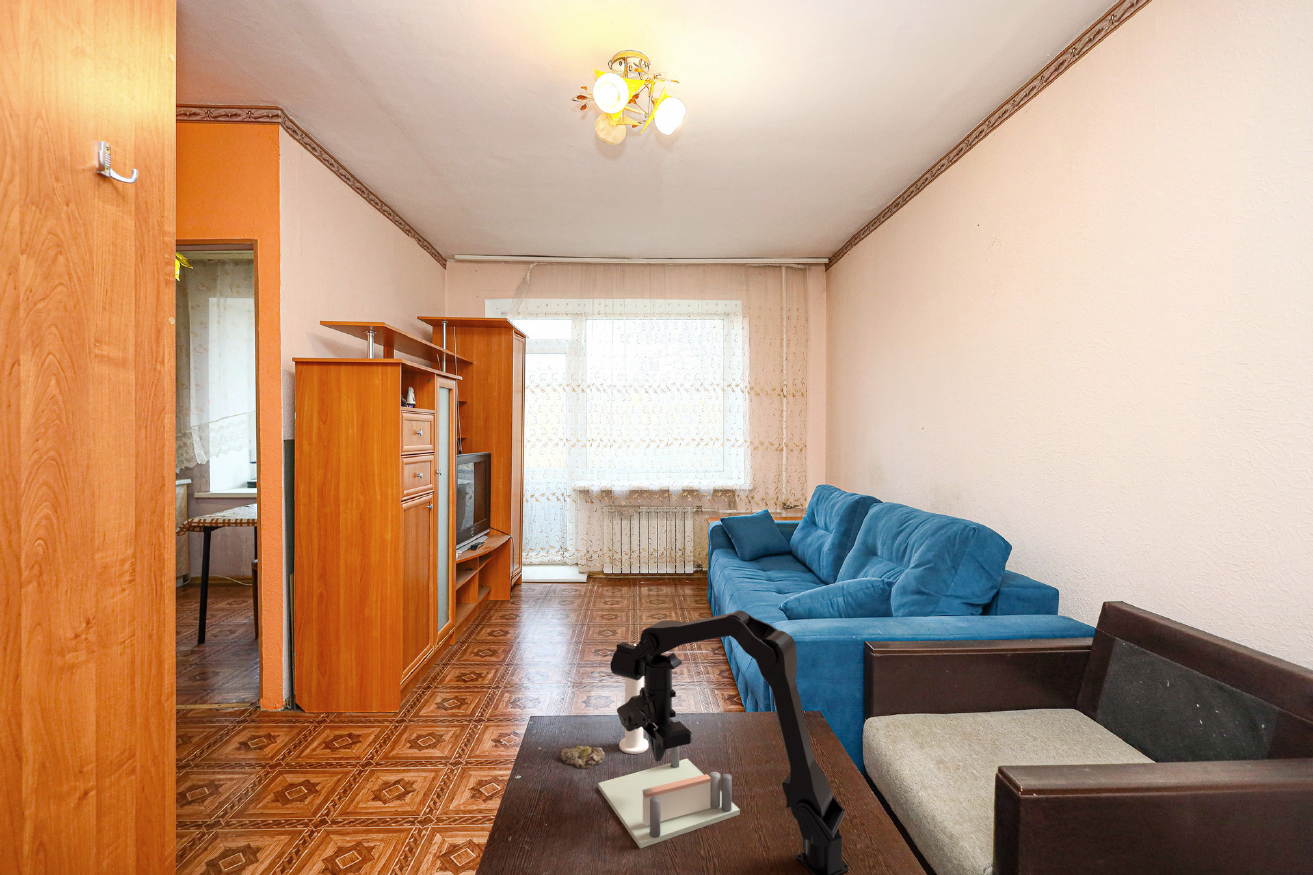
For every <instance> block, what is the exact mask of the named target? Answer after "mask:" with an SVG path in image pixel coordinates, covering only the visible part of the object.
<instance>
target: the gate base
mask: <svg viewBox="0 0 1313 875" xmlns="http://www.w3.org/2000/svg"><path fill="white" fill-rule="evenodd" d="M680 747H681V746H678V747H674V748H670V763H669V762H668V763H666V764H665V763H664V764H661V765H658V766H654V767H652V768H651V767H650V768H648V769H643V770H641V771H637V772H633V773H630V774H626V775H622V776H619V777H615V778H611V779H609V780H605V781H604V780H603V781H601V782H598V783H597V788H598V791H600V793H601V794H602V796H603V797H604V798H605V800H606V801H607V803H608V805H610V807H611V808H612V811H613V812H614V813H615V814H616V816H617V817H618V818H619V819H618V820H619V821H620V822H621V823H622V824H623V826H624V827H625V829H626V831H628V832H627V833H629V835H630V836H631V838H632V839H633V840H634V842H635V843H636V845H637V847H638V848H639V849H643V848H645V847H648V846H653V845H654V844H657V843H660V842H663V841H666V840H670V839H672V838H675V837H678V836H680V835H683V834H687V833H689V832H693V831H696V830H698V829H701V828H704V827H708V826H710V825H713V824H714V825H715V824H716V823H719V822H721V821H725V820H728V819H730V818H733V817H736V816H739V815H741V809H740V808H739V807H738V806H737V805H736V804H735V803H734V802H733V801H732V800H733V799H732V797H733V796H732V795H733V794H732V792H733V791H732V790H733V789H732V788H733V782H732V781H733V776H732V775H731V774H729V773H723V774H722V775H721V790H720V807H718V808H712V807H710V808H708V809H705V810H701V811H697V812H693V813H690V814H686V815H682V816H679V817H675V818H671V819H667V820H664V821H661V799H660V798H659V797H657V796H653V797H651V798H650V825H648V826H645V824H644V823H643V821H642V819H643V790H644V789H648V788H652V787H656V786H660V785H664V784H669V783H673V782H677V781H681V780H685V779H689V778H693V777H697V776H701V775H705V774H704V773H703V772H702V771H701V770H700V769H699V768H698V767H697V766H695V764H694V763H692V762H691V761H690V759H688V758H685V759H681V760H680V749H681V748H680Z"/></svg>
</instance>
